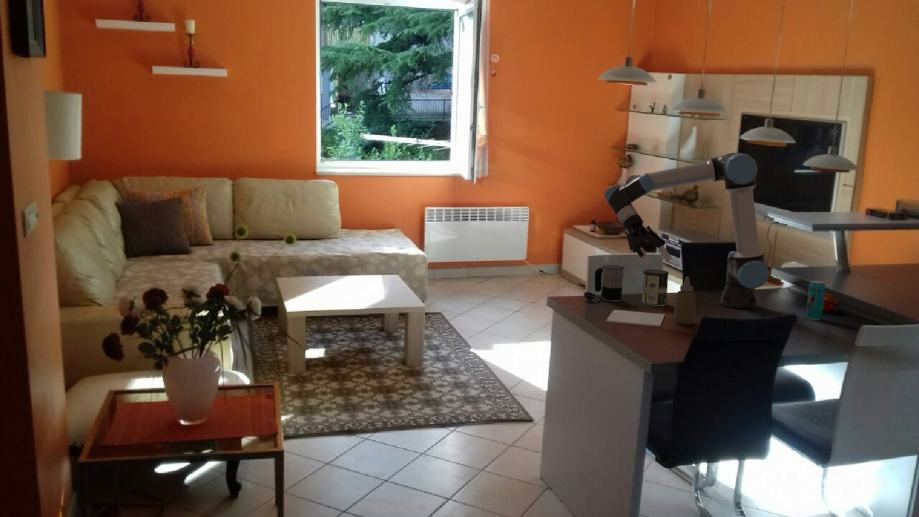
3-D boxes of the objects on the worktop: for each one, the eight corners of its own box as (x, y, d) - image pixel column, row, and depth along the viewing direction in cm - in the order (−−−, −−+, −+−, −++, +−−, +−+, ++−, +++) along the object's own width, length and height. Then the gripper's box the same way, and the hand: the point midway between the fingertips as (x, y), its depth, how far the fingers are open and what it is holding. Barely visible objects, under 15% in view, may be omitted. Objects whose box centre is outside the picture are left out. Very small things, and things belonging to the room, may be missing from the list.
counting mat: (664, 315, 319) (664, 314, 319) (660, 327, 301) (660, 325, 301) (613, 311, 326) (613, 309, 326) (606, 321, 307) (606, 320, 307)
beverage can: (802, 317, 321) (806, 280, 319) (814, 316, 324) (817, 280, 321) (813, 321, 316) (817, 283, 314) (825, 320, 318) (828, 282, 316)
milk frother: (625, 300, 348) (627, 266, 346) (611, 306, 335) (613, 271, 333) (595, 295, 356) (597, 262, 354) (579, 301, 343) (581, 267, 341)
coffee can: (663, 302, 346) (665, 269, 344) (669, 307, 336) (671, 273, 334) (639, 301, 346) (641, 268, 344) (644, 306, 336) (646, 273, 334)
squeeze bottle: (695, 321, 310) (698, 275, 308) (695, 326, 303) (698, 279, 300) (673, 320, 312) (676, 274, 310) (672, 324, 305) (676, 277, 302)
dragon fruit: (814, 311, 342) (835, 321, 331) (803, 300, 338) (824, 311, 327) (826, 295, 341) (848, 305, 331) (816, 284, 338) (837, 294, 327)
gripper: (643, 223, 334) (671, 264, 325) (604, 226, 318) (633, 270, 309) (655, 212, 329) (683, 253, 320) (616, 214, 313) (645, 258, 304)
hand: (659, 261), depth 314 cm, fingers open, 13 cm apart
